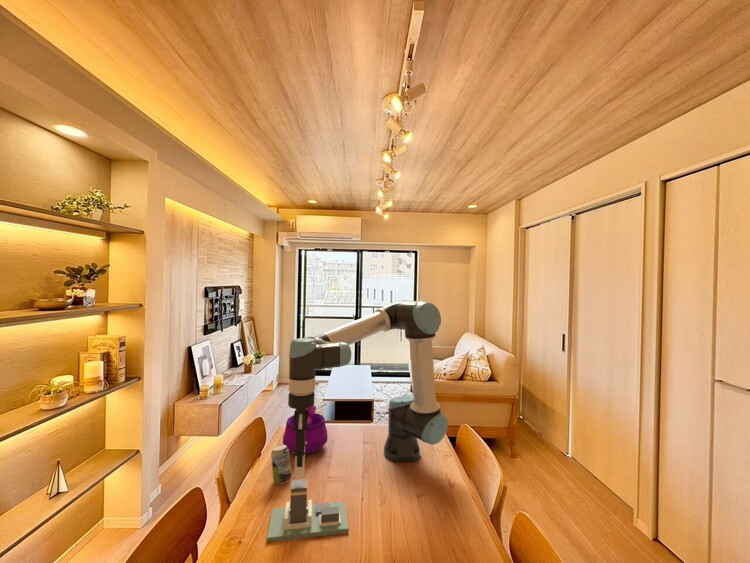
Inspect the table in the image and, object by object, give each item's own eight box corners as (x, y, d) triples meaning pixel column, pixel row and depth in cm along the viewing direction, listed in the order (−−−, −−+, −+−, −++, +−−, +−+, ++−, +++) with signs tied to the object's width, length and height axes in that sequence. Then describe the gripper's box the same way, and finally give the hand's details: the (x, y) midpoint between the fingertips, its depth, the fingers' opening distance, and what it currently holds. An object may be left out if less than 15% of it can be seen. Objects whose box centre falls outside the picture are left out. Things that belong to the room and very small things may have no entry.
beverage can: (286, 487, 113) (287, 452, 113) (266, 484, 114) (267, 449, 114) (294, 477, 119) (295, 444, 119) (275, 475, 120) (276, 441, 121)
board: (344, 505, 104) (344, 491, 104) (348, 532, 92) (348, 517, 92) (272, 512, 100) (272, 498, 100) (266, 542, 88) (267, 526, 88)
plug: (306, 512, 98) (307, 478, 99) (306, 523, 94) (307, 487, 94) (290, 514, 98) (291, 480, 98) (289, 525, 93) (290, 489, 93)
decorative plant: (336, 449, 140) (337, 378, 141) (298, 465, 127) (300, 387, 128) (310, 435, 154) (312, 370, 155) (274, 448, 141) (276, 377, 141)
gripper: (290, 384, 104) (288, 459, 103) (286, 401, 88) (284, 490, 87) (314, 383, 105) (312, 457, 105) (314, 400, 89) (312, 488, 89)
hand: (299, 472), depth 96 cm, fingers open, 3 cm apart
